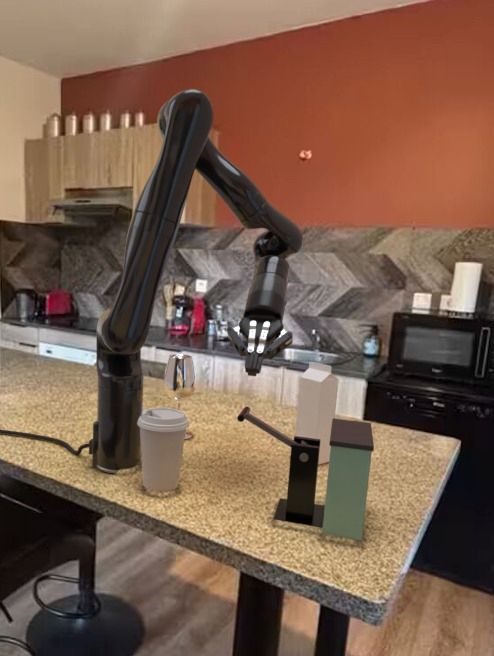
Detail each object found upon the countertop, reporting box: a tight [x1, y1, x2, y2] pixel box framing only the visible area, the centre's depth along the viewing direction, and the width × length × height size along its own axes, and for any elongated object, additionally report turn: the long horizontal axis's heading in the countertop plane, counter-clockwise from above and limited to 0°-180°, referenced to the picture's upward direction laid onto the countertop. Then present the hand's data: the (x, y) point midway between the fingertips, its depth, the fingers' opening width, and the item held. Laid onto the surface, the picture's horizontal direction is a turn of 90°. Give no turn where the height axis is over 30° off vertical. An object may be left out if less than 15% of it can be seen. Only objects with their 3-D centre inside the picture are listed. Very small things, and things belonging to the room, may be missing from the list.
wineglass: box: [162, 353, 196, 440], centre depth 136 cm, size 8×8×20 cm
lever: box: [236, 406, 310, 448], centre depth 94 cm, size 14×6×2 cm, turn 73°
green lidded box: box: [321, 418, 375, 541], centre depth 91 cm, size 6×13×17 cm, turn 163°
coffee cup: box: [137, 407, 190, 492], centre depth 103 cm, size 10×10×15 cm
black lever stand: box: [273, 435, 325, 529], centre depth 94 cm, size 8×9×14 cm
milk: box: [294, 361, 340, 466], centre depth 122 cm, size 6×6×22 cm
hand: (251, 373), depth 99 cm, fingers closed
